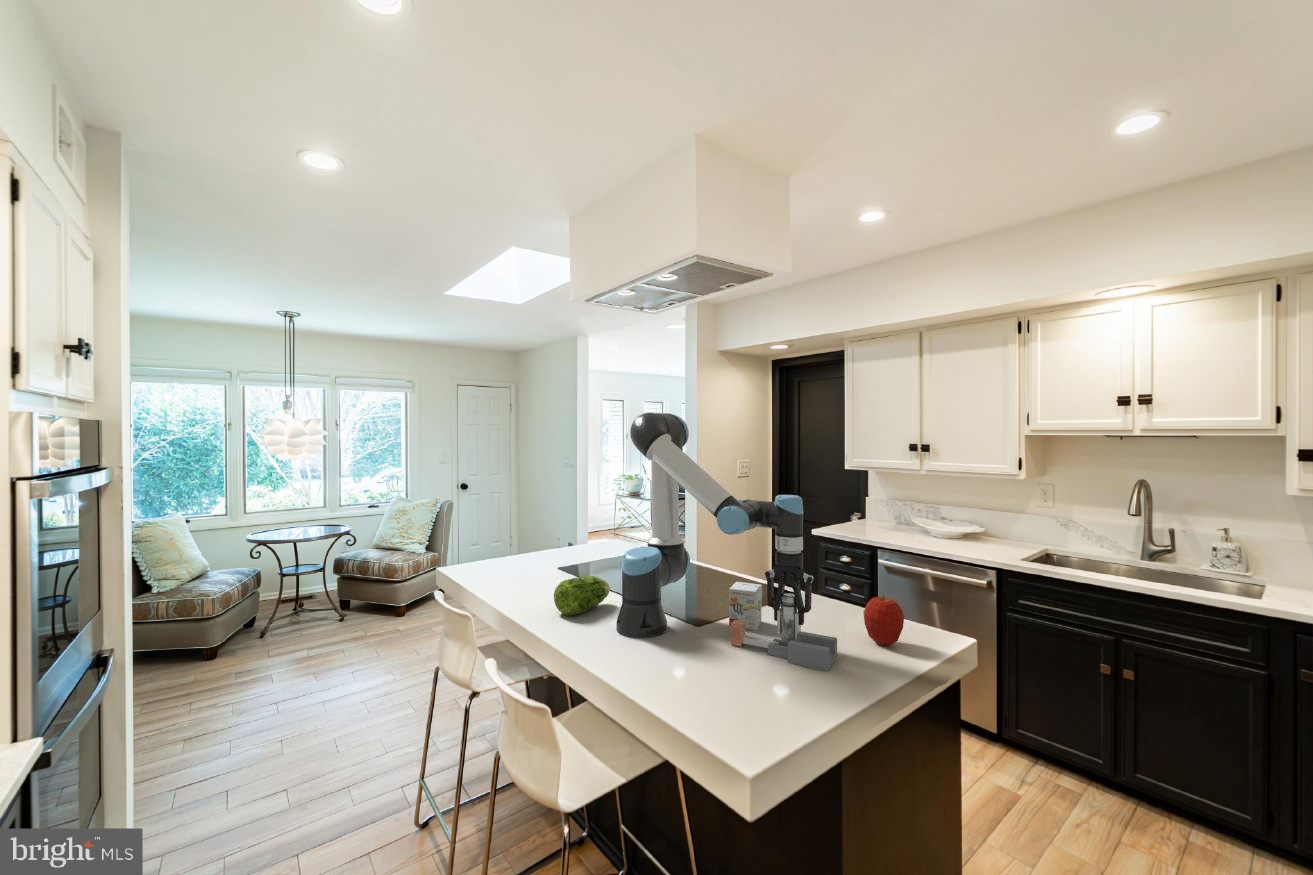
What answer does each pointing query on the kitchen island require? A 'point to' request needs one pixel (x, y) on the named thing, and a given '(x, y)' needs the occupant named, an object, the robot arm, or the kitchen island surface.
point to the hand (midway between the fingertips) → (789, 634)
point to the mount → (807, 650)
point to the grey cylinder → (788, 617)
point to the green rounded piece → (580, 594)
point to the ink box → (745, 604)
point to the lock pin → (741, 639)
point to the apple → (883, 620)
